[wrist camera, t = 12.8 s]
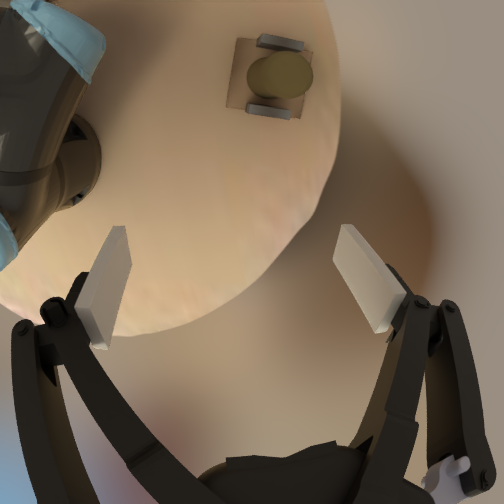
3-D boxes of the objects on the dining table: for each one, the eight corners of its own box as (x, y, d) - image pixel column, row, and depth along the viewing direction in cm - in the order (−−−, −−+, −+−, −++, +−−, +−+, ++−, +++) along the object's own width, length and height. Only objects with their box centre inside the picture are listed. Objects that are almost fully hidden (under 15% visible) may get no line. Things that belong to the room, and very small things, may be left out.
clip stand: (225, 108, 34) (227, 111, 29) (237, 37, 28) (240, 30, 24) (297, 119, 35) (308, 124, 31) (310, 51, 30) (323, 47, 26)
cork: (236, 73, 30) (245, 66, 21) (274, 48, 28) (298, 34, 19) (264, 107, 33) (283, 115, 24) (301, 83, 32) (333, 84, 22)
